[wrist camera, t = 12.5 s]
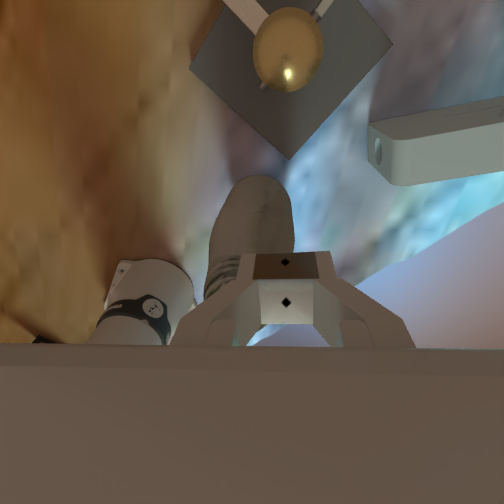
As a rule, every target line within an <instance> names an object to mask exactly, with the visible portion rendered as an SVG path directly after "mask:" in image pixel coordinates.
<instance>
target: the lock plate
mask: <svg viewBox="0 0 504 504" xmlns="http://www.w3.org/2000/svg"><path fill="white" fill-rule="evenodd" d="M256 1H257V3H258V4H259V5H260V6H261V7H262V8H263V9H264V10H265V11H266V13H267V14H268V15H270V14H271V13H273V12H275V11H276V10H279V9H281V8H285V7H296V8H299V9H302V10H304V11H306V12H307V13H309V14H310V13H311V11H312V10H313V9H314V10H315V11H316V12H317V13H318V14H319V16H320V17H321V20H320V21H319V23H318V26H319V28H320V31H321V34H322V39H323V55H322V60H321V63H320V66H319V68H318V70H317V72H316V74H315V75H314V77H313V78H312V79H311V80H310V81H309V82H308V83H307V84H306V85H305V86H303V87H302V88H300V89H298V90H296V91H292V92H279V91H275V90H273V89H271V88H270V87H269V88H268V89H267V90H266V92H265V93H264V92H263V91H262V90H261V89H260V88H259V87H258V86H257V84H258V83H259V81H260V80H261V79H260V77H259V76H258V74H257V72H256V69H255V66H254V62H253V44H254V39H255V35H254V34H253V33H252V32H251V31H250V30H249V29H248V28H247V27H246V25H245V24H244V23H243V22H242V21H241V20H240V19H239V18H238V17H237V16H236V15H235V14H234V13H233V12H232V11H231V10H230V9H229V7H228V6H227V5H225V7H224V8H223V10H222V12H221V14H220V15H219V17H218V19H217V20H216V22H215V24H214V26H213V27H212V29H211V31H210V33H209V34H208V36H207V38H206V39H205V41H204V43H203V45H202V46H201V48H200V50H199V51H198V53H197V55H196V57H195V58H194V60H193V62H192V63H191V65H190V67H189V69H190V70H191V71H192V72H193V73H194V74H195V75H196V76H197V77H198V78H199V79H201V80H202V81H203V82H204V83H205V84H206V85H207V86H208V87H209V88H210V89H211V90H213V91H214V92H215V93H216V94H217V95H218V96H219V97H220V98H221V99H222V100H223V101H225V102H226V103H227V104H228V105H229V106H230V107H231V108H232V109H233V110H234V111H236V112H237V113H238V114H239V115H240V116H241V117H242V118H243V119H244V120H245V121H246V122H248V123H249V124H250V125H251V126H252V127H253V128H254V129H255V130H256V131H257V132H259V133H260V134H261V135H262V136H263V137H264V138H265V139H266V140H267V141H268V142H269V143H271V144H272V145H273V146H274V147H275V148H276V149H277V150H278V151H279V152H280V153H282V154H283V155H284V156H285V157H286V158H287V159H288V160H290V159H291V158H292V157H293V155H294V154H295V153H296V152H297V151H298V150H299V149H300V148H301V147H302V145H303V144H304V143H305V142H306V141H307V140H308V139H309V138H310V137H311V135H312V134H313V133H314V132H315V131H316V130H317V129H318V128H319V127H320V125H321V124H322V123H323V122H324V121H325V120H326V119H327V118H328V117H329V115H330V114H331V113H332V112H333V111H334V110H335V109H336V108H337V107H338V105H339V104H340V103H341V102H342V101H343V100H344V99H345V98H346V97H347V95H348V94H349V93H350V92H351V91H352V90H353V89H354V88H355V87H356V85H357V84H358V83H359V82H360V81H361V80H362V79H363V78H364V77H365V75H366V74H367V73H368V72H369V71H370V70H371V69H372V68H373V67H374V65H375V64H376V63H377V62H378V61H379V60H380V59H381V58H382V57H383V55H384V54H385V53H386V52H387V51H388V50H389V49H390V48H391V47H392V45H393V43H392V42H391V41H390V40H389V38H388V37H387V36H386V35H385V33H384V32H383V31H382V30H381V28H380V27H379V26H378V25H377V24H376V22H375V21H374V20H373V19H372V17H371V16H370V15H369V14H368V12H367V11H366V10H365V9H364V7H363V6H362V5H361V4H360V2H359V1H358V0H256Z"/></svg>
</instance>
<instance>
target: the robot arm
mask: <svg viewBox="0 0 504 504" xmlns="http://www.w3.org/2000/svg"><path fill="white" fill-rule="evenodd" d="M122 269H123V270H122ZM104 308H105V311H104V312H103V314H102V315H101V317H100V319H99V321H98V323H97V326H96V329H95V331H94V332H93V333H92V335H91V336H90V337H89V339H88V340H87V341H86V343H85V344H39V343H0V504H504V349H444V348H416V346H415V344H414V342H413V340H412V338H411V336H410V334H409V332H408V330H407V328H406V326H405V324H404V322H403V320H402V319H401V318H400V317H398V316H397V315H395V314H394V313H392V312H391V311H389V310H388V309H386V308H385V307H383V306H382V305H381V304H379V303H378V302H376V301H375V300H373V299H371V298H370V297H369V296H367V295H366V294H364V293H363V292H361V291H360V290H358V289H357V288H355V287H354V286H352V285H351V284H349V283H348V282H346V281H345V280H343V279H338V278H337V274H336V271H335V267H334V264H333V260H332V256H331V253H330V251H317V252H299V253H257V254H256V253H243V254H242V255H241V258H240V262H239V267H238V271H237V275H236V280H231V281H230V282H229V283H227V284H226V285H225V286H223V287H222V288H221V289H219V290H218V291H217V292H215V293H214V294H213V295H211V296H210V297H209V298H207V299H206V300H205V301H203V302H202V303H201V304H199V305H198V306H197V304H196V302H195V300H194V291H193V286H192V283H191V281H190V279H189V278H188V276H187V275H186V274H185V273H184V272H183V271H182V270H181V269H179V268H178V267H176V266H175V265H173V264H171V263H169V262H166V261H163V260H158V259H144V260H140V261H131V260H121V261H120V262H119V264H118V266H117V269H116V272H115V275H114V278H113V281H112V284H111V286H110V289H109V292H108V295H107V298H106V301H105V304H104ZM261 324H313V326H314V327H315V328H316V329H317V331H318V332H319V333H320V334H321V335H322V337H323V338H324V339H325V340H326V342H327V343H328V344H329V345H330V346H331V347H278V346H277V347H274V346H246V345H247V343H248V342H249V341H250V340H251V338H252V337H253V336H254V335H255V333H256V332H257V331H258V329H259V328H260V327H261V326H262V325H261ZM171 336H172V337H173V338H172V340H171V342H170V345H167V344H168V341H169V338H170V337H171Z"/></svg>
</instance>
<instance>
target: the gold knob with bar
mask: <svg viewBox="0 0 504 504" xmlns="http://www.w3.org/2000/svg"><path fill="white" fill-rule="evenodd" d="M222 1H223V2H224V3H225V4H226V5H227V6H228V7H229V9H230V10H231V11H232V12H233V13H234V14H235V15H236V16H237V17H238V18H239V19H240V20H241V21H242V22H243V23H244V24H245V25H246V27H247V28H248V29H249V30H250V31H251V32H252V33H253V34H254V35H255V39H254V44H253V62H254V66H255V69H256V72H257V74H258V76H259V77H260V79H261V80H260V81H259V83H258V84H257V86H258V87H259V88H260V89H261V90H262V91H263V92H264V93H265V92H266V90H267V89H268V88H269V87H270V88H271V89H273V90H275V91H279V92H292V91H296V90H298V89H300V88H302V87H303V86H305V85H306V84H307V83H308V82H309V81H310V80H311V79H312V78H313V77H314V75H315V74H316V72H317V70H318V68H319V66H320V63H321V60H322V55H323V39H322V34H321V31H320V28H319V26H318V23H319V21H320V20H321V17H320V16H319V14H318V13H317V12H316V11H315V10H314V9H313V10H312V11H311V13H310V14H309V13H307V12H306V11H304V10H302V9H299V8H296V7H285V8H281V9H279V10H276V11H275V12H273V13H271V14H270V15H268V14H267V13H266V11H265V10H264V9H263V8H262V7H261V6H260V5H259V4H258V3H257V1H256V0H222Z"/></svg>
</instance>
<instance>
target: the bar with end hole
mask: <svg viewBox="0 0 504 504" xmlns="http://www.w3.org/2000/svg"><path fill="white" fill-rule="evenodd" d="M368 162H369V163H370V164H371V165H372V166H373V167H374V168H375V169H376V170H377V171H378V172H379V173H380V174H381V175H382V176H383V177H384V178H385V179H386V180H387V181H388V182H389V183H390V184H392V185H396V186H411V185H417V184H423V183H430V182H436V181H442V180H448V179H455V178H461V177H467V176H474V175H480V174H486V173H493V172H499V171H504V96H501V97H496V98H491V99H486V100H481V101H476V102H471V103H466V104H461V105H456V106H451V107H446V108H441V109H436V110H431V111H426V112H421V113H416V114H411V115H406V116H401V117H396V118H391V119H386V120H381V121H376V122H372V123H369V124H368Z"/></svg>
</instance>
